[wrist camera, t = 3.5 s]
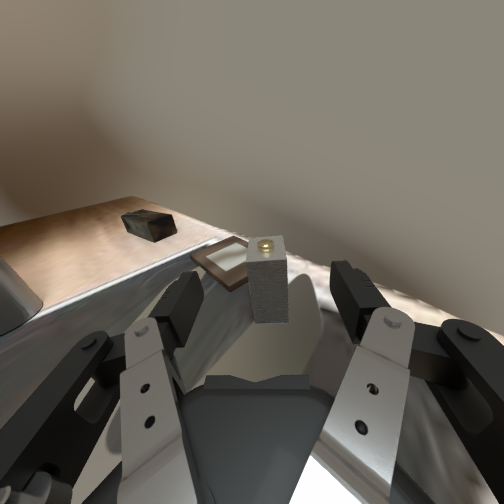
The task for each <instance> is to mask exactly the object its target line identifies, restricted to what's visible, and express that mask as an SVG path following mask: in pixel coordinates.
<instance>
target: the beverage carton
mask: <svg viewBox="0 0 504 504" xmlns="http://www.w3.org/2000/svg"><path fill="white" fill-rule="evenodd" d="M121 219H122V221H123V223H124V225H125V228H126V229H127V232H129V233H132V234H134V235H137V236H139V237H142V238H145V239H148V240H150V241H153V242H157V241H159V240H161V239H164V238H166V237H169V236H171V235H173V234H176V233H177V229H176V226H175V223H174V219H173V216H172V215H171V214H164V213H159V212H153V211H147V210H143V209H142V210H139V211H135V212H132V213H131V212H127V213H125V215H122V216H121Z"/></svg>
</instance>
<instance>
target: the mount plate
mask: <svg viewBox="0 0 504 504" xmlns="http://www.w3.org/2000/svg"><path fill="white" fill-rule="evenodd" d="M248 243H249V242H247V241H244V240H242V239H240V238H238V237H236V236H231V237H229V238H227V239H224V240H222V241H220V242H218V243H215V244H213V245H211V246H208V247H206V248H204V249H201V250H199V251H197V252H195V253H192V254H190V257H191V259H192V260H193V261H194V262H195V263H196V264H198V265H199V266H200V267H201V268H202V269H204V270H205V271H206V272H207V273H208V274H209V275H211V276H212V277H213V278H214V279H215V280H217V281H218V282H219V283H220V284H221V285H222V286H224V287H225V288H226V289H227V290H228V291H230V292H231V291H233V290H234V289H236V288H238V287H239V286H241V285H243V284H244V283H246V282H248V275H247V269H246V263H245V262H246V255H247V249H248Z"/></svg>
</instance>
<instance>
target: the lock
mask: <svg viewBox="0 0 504 504" xmlns="http://www.w3.org/2000/svg"><path fill="white" fill-rule="evenodd" d="M245 263H246V269H247V275H248V281H249V287H250V294H251V300H252V306H253V312H254V318H255V323H256V324H261V323H262V324H263V323H289V308H288V278H287V257H286V252H285V246H284V241H283V236H269V237H256V238H249V243H248V249H247V255H246V262H245Z"/></svg>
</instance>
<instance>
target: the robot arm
mask: <svg viewBox="0 0 504 504" xmlns="http://www.w3.org/2000/svg"><path fill="white" fill-rule="evenodd" d="M330 291H331V294H332V297H333V299H334V301H335V304H336V306H337V308H338V311H339V313H340V315H341V318H342V320H343V322H344V325H345V327H346V329H347V332H348V334H349V336H350V338H351V341H352V343H353V344H360V345H358V346H357V348H356V350H355V353H354V355H353V358H352V360H351V362H350V365H349V367H348V370H347V372H346V374H345V377H344V379H343V381H342V384H341V386H340V389H339V391H338V393H337V396H336V397H335V396H333V395H332V394H330V393H329V392H328V391H326V390H324V389H322V388H320V387H318V386H315V385H313V384H309V379H308V375H280V376H277V377H273V378H270V379H267V380H263V381H260V382H251V381H247V380H244V379H241V378H237V377H234V376H231V375H208V376H206V379H205V383H204V385H201V386H199V387H196V388H194V389H193V390H191V391H189V392H188V393H187V391H186V388H185V386H184V383H183V380H182V377H181V373H180V370H179V367H178V364H177V361H176V358H175V355H174V351H175V348H183V347H185V344H186V342H187V339H188V337H189V334H190V332H191V329H192V327H193V324H194V322H195V319H196V317H197V314H198V312H199V309H200V307H201V304H202V302H203V298H204V291H203V288H202V285H201V282H200V279H199V276H198V273H197V272H196V271H189V272H183V273H182V274H181V276H180V277H179V279H178V280H177V281H174V282H173V283H172V284H171V285H170V286H169V287H168V288H167V289H166V291H165V293H164V294H163V295H162V297H161V299H160V300H159V301H158V303H157V304H156V306H155V307H154V308H153V310H152V311H151V313H150V315H149V316H148V317H147V318H143V319H141V320H139V321H137V322H135V323H134V324H133V325H131V326H130V327H129V328H128V330H127V331H126V333H123V334H120V335H117V336H113V337H109V336H108V334H107V333H106V332H104V331H98V332H94V333H92V334H89V335H88V336H86V337H84V338H83V339H81V340H80V341H79V342H78V343H77V344H76V345H75V346H74V347H73V348H72V349H71V350H70V352H69V353H68V354H67V355H66V356H65V357H64V358H63V359H62V361H61V362H60V363H59V364H58V365H57V366H56V367H55V369H54V370H53V371H52V372H51V373H50V374H49V375H48V376H47V378H46V379H45V380H44V381H43V382H42V383H41V384H40V385H39V387H38V388H37V389H36V390H35V391H34V392H33V393H32V395H31V396H30V397H29V398H28V399H27V400H26V401H25V402H24V404H23V405H22V406H21V407H20V408H19V409H18V410H17V411H16V413H15V414H14V415H13V416H12V417H11V418H10V419H9V420H8V422H7V423H6V424H5V425H4V426H3V427H2V428H1V430H0V504H71V499H72V489H73V487H74V485H75V483H76V481H77V479H78V477H79V476H80V474H81V472H82V470H83V468H84V466H85V464H86V462H87V460H88V458H89V456H90V455H91V453H92V451H93V449H94V447H95V445H96V443H97V441H98V439H99V437H100V435H101V433H102V431H103V430H104V428H105V426H106V424H107V422H108V420H109V418H110V416H111V414H112V413H113V411H114V409H115V407H116V405H117V403H118V401H119V399H121V401H120V403H121V439H122V461H121V462H120V463H119V464H118V465H117V466H116V467H115V468H114V469H113V470H112V472H111V473H110V474H109V475H108V476H107V477H106V478H105V479H104V480H103V481H102V482H101V483H100V484H99V486H98V487H97V488H96V489H95V490H94V491H93V492H92V493H91V494H90V495H89V496H88V497H87V498H86V499H85V500H84V501H83V503H82V504H435V502H434V501H433V500H432V499H431V498H430V497H429V496H428V495H427V494H426V493H425V492H424V491H423V490H422V488H421V487H420V486H419V485H418V484H417V483H416V482H415V481H414V480H413V479H412V478H411V477H410V476H409V474H408V473H407V472H406V471H405V470H404V469H403V468H402V467H401V466H400V465H399V464H398V463H397V462H396V460H395V459H396V453H397V447H398V441H399V435H400V429H401V423H402V418H403V412H404V406H405V400H406V394H407V388H408V382H409V376H414V377H417V378H421V379H424V380H425V382H426V383H427V385H428V387H429V388H430V390H431V392H432V393H433V395H434V397H435V398H436V400H437V402H438V403H439V405H440V407H441V408H442V410H443V412H444V413H445V415H446V417H447V418H448V420H449V422H450V423H451V425H452V427H453V428H454V430H455V431H456V433H457V435H458V436H459V438H460V440H461V441H462V443H463V445H464V446H465V448H466V450H467V451H468V453H469V455H470V456H471V458H472V460H473V461H474V463H475V465H476V466H477V468H478V470H479V471H480V473H481V475H482V476H483V478H484V479H485V481H486V483H487V484H488V486H489V488H490V489H491V491H492V493H493V494H494V496H495V498H496V499H497V501H498V503H499V504H504V346H503V345H502V344H501V343H500V342H499V341H498V340H497V339H496V338H495V337H494V336H492V335H491V334H490V333H489V332H488V331H486V330H485V329H483V328H481V327H479V326H477V325H475V324H473V323H470V322H467V321H464V320H459V319H448V320H445V321H444V322H443V323H442V325H441V327H437V326H432V325H427V324H422V323H417V322H413V320H412V319H411V318H410V317H409V316H408V315H407V314H405V313H404V312H402V311H400V310H397V309H395V308H392V307H391V306H390V305H389V303H388V302H387V301H386V299H385V298H384V297H383V296H382V294H381V293H380V292H379V290H378V289H377V288H376V287H375V285H374V284H373V282H371V280H370V278H369V277H368V276H367V275H366V274H365V273H364V272H362V271H361V270H359V269H352V267H351V266H350V264H349V263H348V261H346V260H344V261H332V263H331V271H330ZM42 304H43V302H42V301H41V300H40V299H39V298H38V296H37V295H36V294H35V293H34V292H33V291H32V290H31V289H30V288H29V286H28V285H27V284H26V283H25V282H24V281H23V280H22V278H21V277H20V276H19V275H18V274H17V273H16V272H15V271H14V270H13V268H12V267H11V266H10V265H9V264H8V263H7V262H6V261H5V260H4V258H3V257H2V256H1V255H0V335H2V334H4V333H7V332H9V331H11V330H12V329H14V328H16V327H18V326H19V325H21V324H23V323H24V322H26V321H27V320H28V319H30V318H31V317H32V316H34V315H35V314H36V313H37V312H38V311H39V310H40V309H41V307H42ZM91 377H92V378H93V379H94V380H95V383H94V384H93V386H92V387H91V389H90V390H89V392H88V393H87V395H86V396H85V398H84V399H83V401H82V402H81V404H80V405H79V407H78V408H77V410H76V411H74V403H75V400H76V398H77V396H78V395H79V393H80V392H81V391H82V389H83V387H84V386H85V385H86V383H87V382H88V380H89V379H90V378H91Z"/></svg>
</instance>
